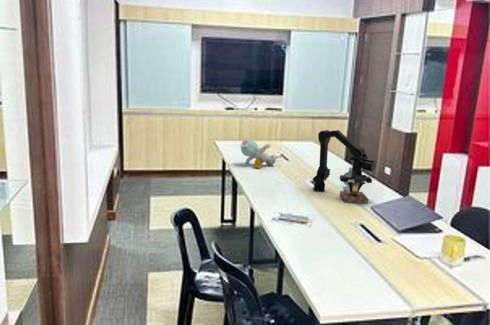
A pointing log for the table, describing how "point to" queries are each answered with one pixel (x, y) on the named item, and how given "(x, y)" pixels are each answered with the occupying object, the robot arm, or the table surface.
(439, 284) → the table surface
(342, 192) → the jig block
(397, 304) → the table surface
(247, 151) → the toy
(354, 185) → the gold cylinder
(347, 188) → the pocket watch
